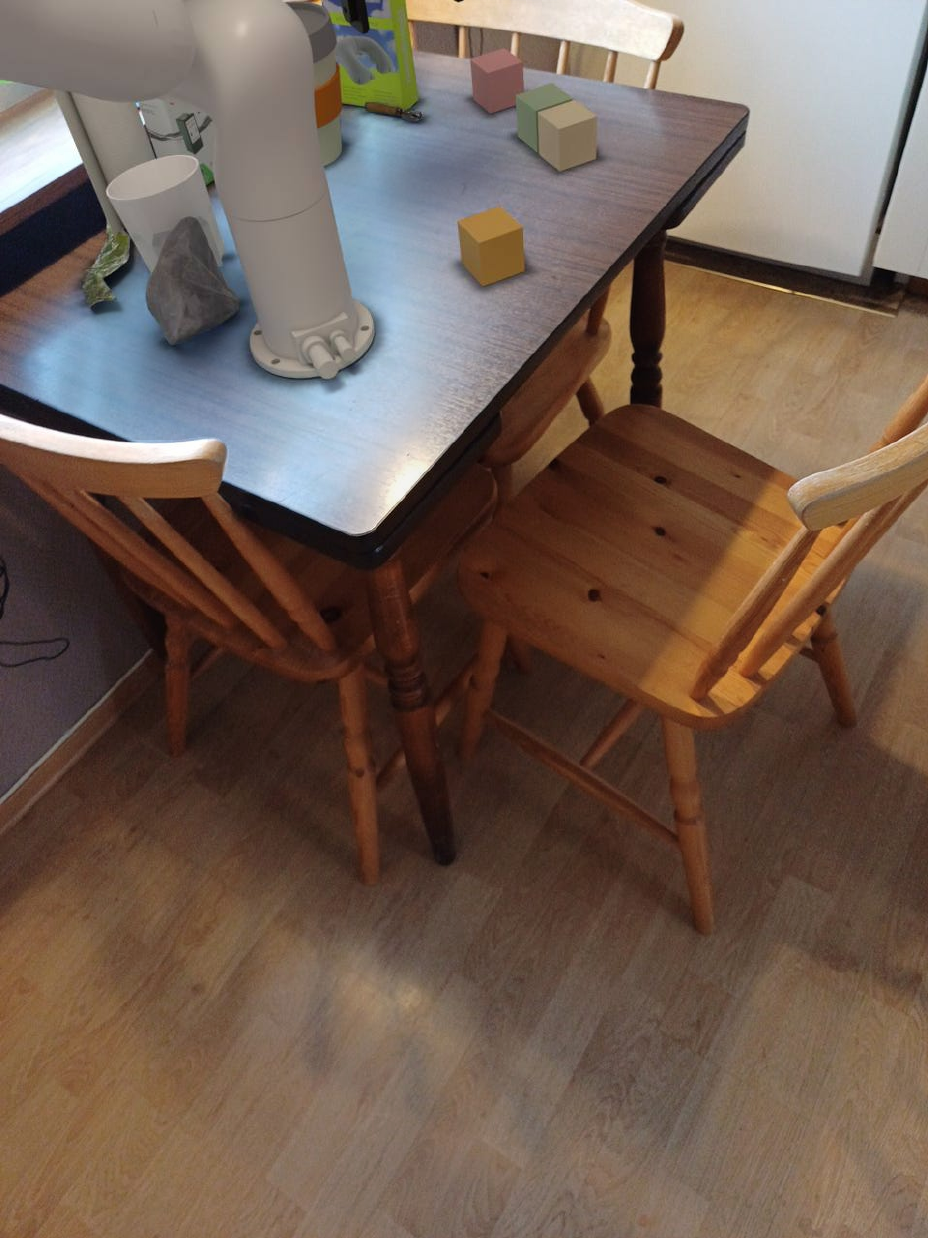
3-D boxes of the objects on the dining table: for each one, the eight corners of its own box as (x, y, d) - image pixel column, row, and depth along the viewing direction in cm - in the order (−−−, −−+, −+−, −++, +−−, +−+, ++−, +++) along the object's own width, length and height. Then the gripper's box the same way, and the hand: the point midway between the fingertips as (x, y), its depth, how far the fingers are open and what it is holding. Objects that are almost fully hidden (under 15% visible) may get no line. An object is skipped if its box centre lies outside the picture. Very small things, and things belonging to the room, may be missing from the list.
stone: (192, 310, 106) (109, 281, 98) (241, 228, 101) (157, 191, 93) (231, 382, 101) (147, 357, 93) (284, 299, 95) (200, 266, 88)
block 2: (573, 140, 115) (572, 97, 111) (537, 152, 114) (535, 110, 110) (552, 124, 118) (552, 82, 114) (517, 136, 117) (515, 94, 113)
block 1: (524, 102, 122) (522, 61, 119) (490, 113, 121) (487, 72, 118) (506, 88, 125) (504, 47, 121) (473, 99, 124) (469, 58, 120)
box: (338, 104, 127) (309, -45, 113) (353, 90, 129) (327, -58, 116) (406, 114, 124) (385, -39, 110) (421, 100, 126) (402, -52, 112)
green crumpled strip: (115, 298, 100) (120, 320, 102) (168, 191, 117) (171, 211, 119) (54, 293, 100) (60, 315, 102) (115, 187, 116) (119, 207, 118)
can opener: (364, 112, 125) (362, 103, 124) (375, 104, 126) (373, 95, 125) (419, 125, 121) (418, 116, 120) (429, 117, 122) (428, 108, 121)
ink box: (193, 196, 116) (159, 95, 107) (165, 187, 118) (130, 87, 109) (240, 163, 120) (212, 63, 110) (212, 155, 122) (182, 56, 113)
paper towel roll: (175, 206, 114) (105, 9, 97) (179, 231, 111) (107, 32, 94) (116, 220, 114) (35, 24, 97) (118, 246, 110) (34, 47, 93)
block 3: (596, 158, 112) (597, 115, 108) (559, 171, 111) (558, 128, 107) (575, 142, 115) (575, 99, 111) (539, 154, 114) (537, 111, 110)
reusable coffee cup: (261, 187, 116) (225, 55, 104) (255, 139, 123) (221, 11, 111) (362, 167, 116) (338, 34, 104) (350, 121, 124) (326, -8, 112)
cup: (251, 251, 105) (217, 160, 98) (182, 296, 101) (141, 205, 93) (198, 237, 110) (162, 150, 103) (131, 279, 106) (88, 192, 99)
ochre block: (525, 271, 100) (522, 226, 96) (482, 286, 99) (478, 242, 95) (503, 249, 102) (500, 205, 99) (461, 264, 101) (457, 220, 98)
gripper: (291, -198, 69) (338, 55, 82) (496, -253, 73) (509, -3, 86) (254, -216, 73) (305, 27, 87) (449, -266, 77) (469, -26, 91)
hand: (406, 12), depth 86 cm, fingers open, 9 cm apart
